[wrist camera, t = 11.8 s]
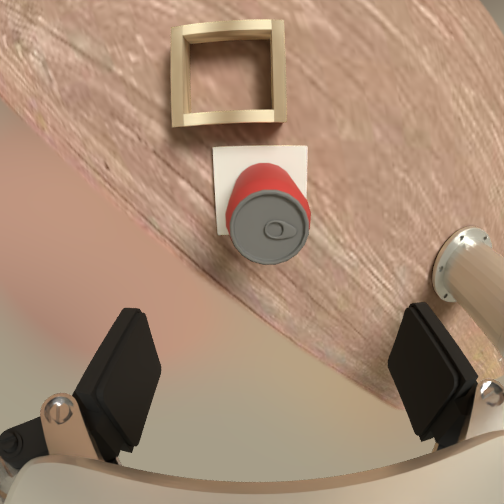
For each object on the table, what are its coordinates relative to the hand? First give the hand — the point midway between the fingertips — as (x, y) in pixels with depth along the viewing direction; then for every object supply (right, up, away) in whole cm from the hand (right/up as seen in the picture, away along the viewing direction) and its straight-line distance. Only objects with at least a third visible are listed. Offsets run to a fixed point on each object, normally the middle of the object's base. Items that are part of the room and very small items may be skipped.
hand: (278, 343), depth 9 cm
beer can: (0, +10, +21) cm, 24 cm away
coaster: (0, +10, +22) cm, 24 cm away
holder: (-3, +22, +16) cm, 27 cm away
